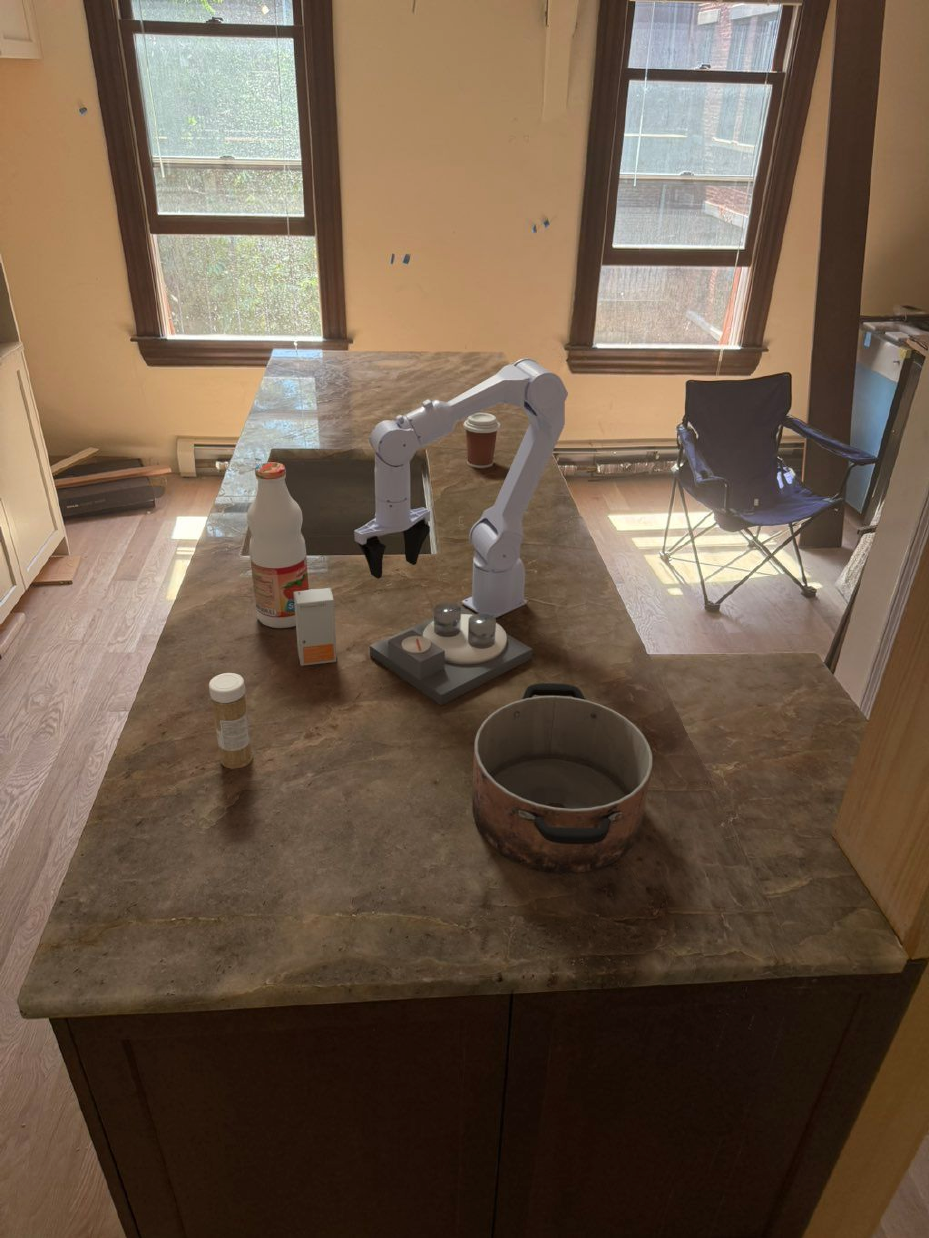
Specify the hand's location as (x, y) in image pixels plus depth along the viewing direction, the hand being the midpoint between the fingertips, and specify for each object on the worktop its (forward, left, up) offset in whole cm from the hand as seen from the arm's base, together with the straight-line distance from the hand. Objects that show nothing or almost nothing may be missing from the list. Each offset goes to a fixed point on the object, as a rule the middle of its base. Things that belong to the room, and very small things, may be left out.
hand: (394, 569), depth 150 cm
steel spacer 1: (-2, +12, -7) cm, 14 cm away
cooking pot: (+13, +51, -11) cm, 54 cm away
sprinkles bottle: (+40, +15, -11) cm, 44 cm away
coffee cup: (-64, -46, -11) cm, 80 cm away
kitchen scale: (0, +15, -10) cm, 18 cm away
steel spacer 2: (-4, +18, -7) cm, 20 cm away
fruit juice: (+14, -14, -11) cm, 22 cm away
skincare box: (+17, +1, -11) cm, 20 cm away
